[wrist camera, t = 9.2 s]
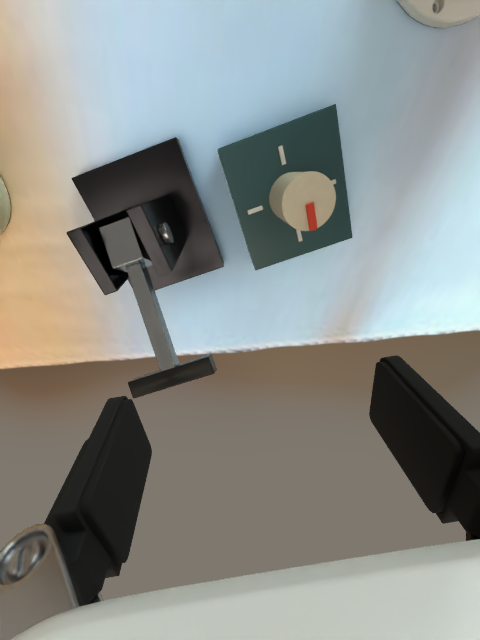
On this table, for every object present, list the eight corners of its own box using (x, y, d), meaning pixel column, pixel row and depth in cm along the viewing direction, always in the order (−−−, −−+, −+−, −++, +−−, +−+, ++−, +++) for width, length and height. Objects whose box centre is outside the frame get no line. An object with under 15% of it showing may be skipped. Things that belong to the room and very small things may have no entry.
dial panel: (323, 111, 25) (336, 103, 22) (340, 232, 30) (353, 238, 27) (217, 151, 25) (217, 148, 23) (252, 262, 30) (255, 271, 28)
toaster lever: (218, 367, 20) (212, 376, 18) (143, 390, 21) (128, 401, 18) (168, 218, 20) (156, 206, 18) (94, 245, 20) (72, 237, 18)
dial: (264, 180, 24) (277, 181, 19) (309, 165, 24) (334, 163, 19) (274, 225, 26) (288, 238, 21) (315, 213, 26) (340, 222, 20)
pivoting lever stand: (223, 262, 30) (226, 308, 20) (140, 291, 31) (101, 350, 21) (178, 138, 25) (149, 112, 14) (78, 178, 26) (-18, 180, 15)
